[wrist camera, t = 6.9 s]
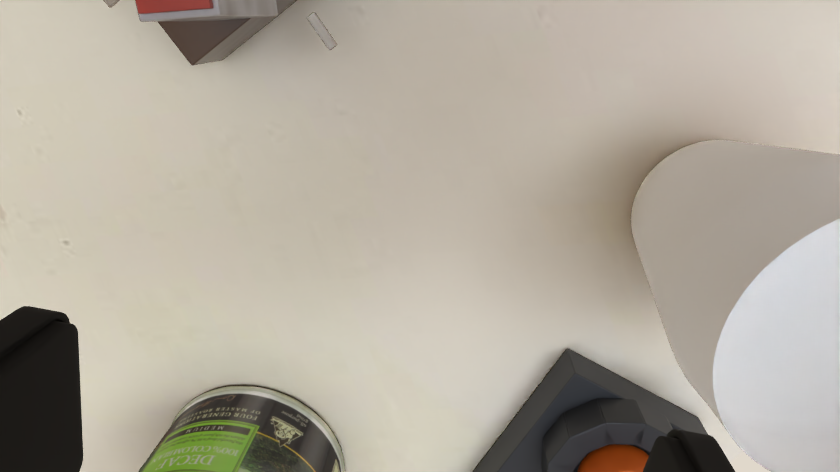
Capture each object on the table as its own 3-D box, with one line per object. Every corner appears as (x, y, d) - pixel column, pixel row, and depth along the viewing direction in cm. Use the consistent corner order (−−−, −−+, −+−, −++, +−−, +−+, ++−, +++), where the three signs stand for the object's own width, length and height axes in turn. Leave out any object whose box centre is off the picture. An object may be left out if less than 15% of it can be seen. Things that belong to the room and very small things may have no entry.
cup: (845, 237, 26) (1137, 404, 15) (660, 334, 28) (791, 541, 17) (758, 66, 24) (1024, 110, 12) (565, 186, 26) (642, 314, 15)
